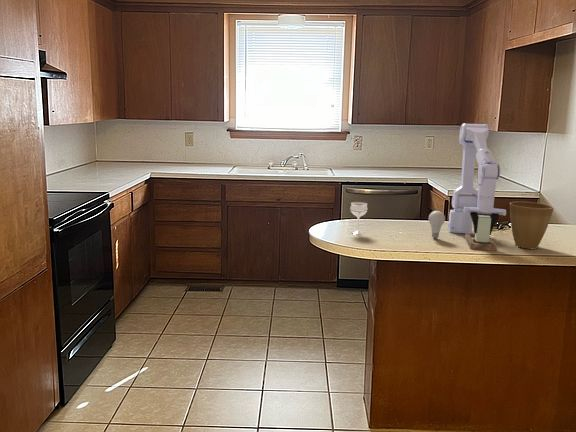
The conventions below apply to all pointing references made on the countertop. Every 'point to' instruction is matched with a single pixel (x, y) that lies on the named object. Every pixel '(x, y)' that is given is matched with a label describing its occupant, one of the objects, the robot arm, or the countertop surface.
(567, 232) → the countertop surface
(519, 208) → the plant pot
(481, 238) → the green block
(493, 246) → the pocket rack
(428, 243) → the countertop surface
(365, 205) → the wineglass
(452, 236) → the countertop surface
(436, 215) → the lightbulb
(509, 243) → the countertop surface
